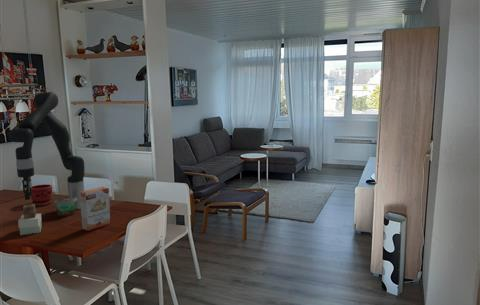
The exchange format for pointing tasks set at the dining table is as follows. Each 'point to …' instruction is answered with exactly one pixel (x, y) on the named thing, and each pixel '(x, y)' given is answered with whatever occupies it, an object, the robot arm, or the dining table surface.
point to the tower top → (29, 221)
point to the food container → (66, 207)
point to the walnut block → (29, 211)
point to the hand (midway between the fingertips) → (28, 197)
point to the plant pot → (41, 194)
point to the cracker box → (95, 208)
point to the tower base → (30, 230)
